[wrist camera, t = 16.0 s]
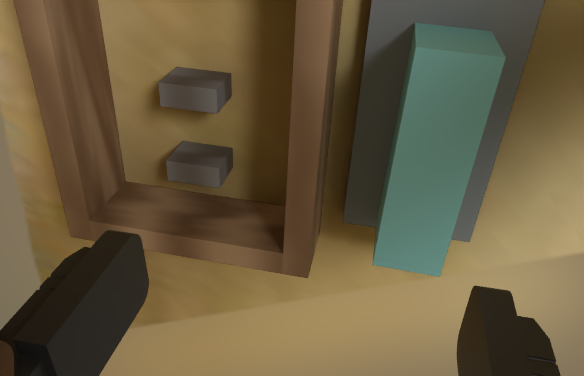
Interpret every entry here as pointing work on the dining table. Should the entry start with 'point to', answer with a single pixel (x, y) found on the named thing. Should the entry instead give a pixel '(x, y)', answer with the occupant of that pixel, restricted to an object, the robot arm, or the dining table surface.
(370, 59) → the slate mat
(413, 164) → the teal rectangular block
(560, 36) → the dining table surface
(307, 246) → the pocket
